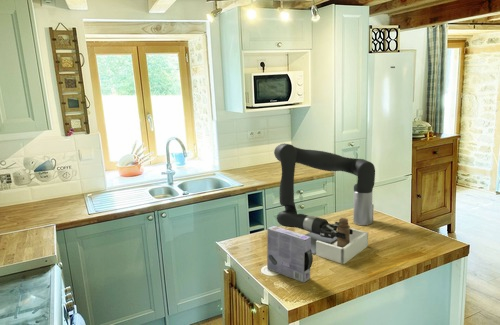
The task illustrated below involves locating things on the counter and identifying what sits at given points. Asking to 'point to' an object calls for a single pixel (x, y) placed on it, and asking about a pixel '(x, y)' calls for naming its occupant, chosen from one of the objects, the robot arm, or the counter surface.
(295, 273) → the cake pan box
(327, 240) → the serving board
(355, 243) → the cubby
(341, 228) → the pepper mill
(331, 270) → the counter surface
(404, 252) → the counter surface
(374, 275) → the counter surface
